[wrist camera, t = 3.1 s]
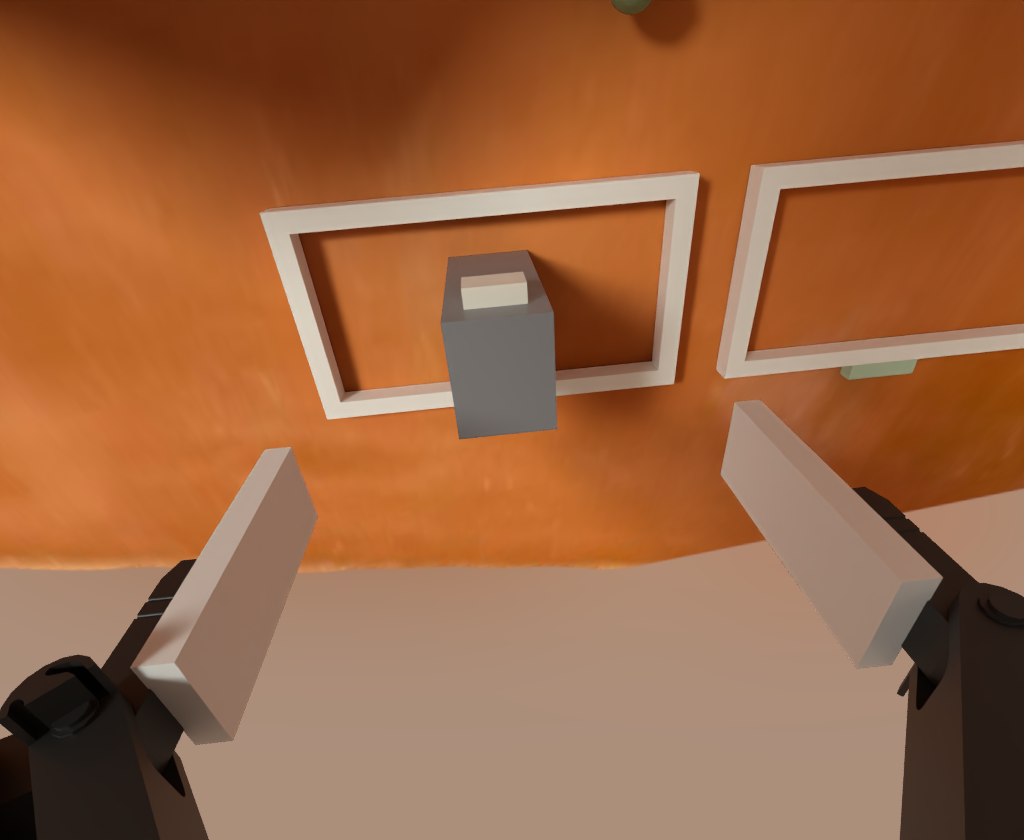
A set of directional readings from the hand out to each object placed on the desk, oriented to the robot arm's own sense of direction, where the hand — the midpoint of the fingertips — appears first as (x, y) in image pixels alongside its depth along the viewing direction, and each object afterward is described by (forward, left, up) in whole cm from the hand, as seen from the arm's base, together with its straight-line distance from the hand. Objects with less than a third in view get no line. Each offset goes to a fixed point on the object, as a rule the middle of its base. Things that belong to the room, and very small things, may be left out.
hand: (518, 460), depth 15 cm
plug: (0, 0, -14) cm, 14 cm away
